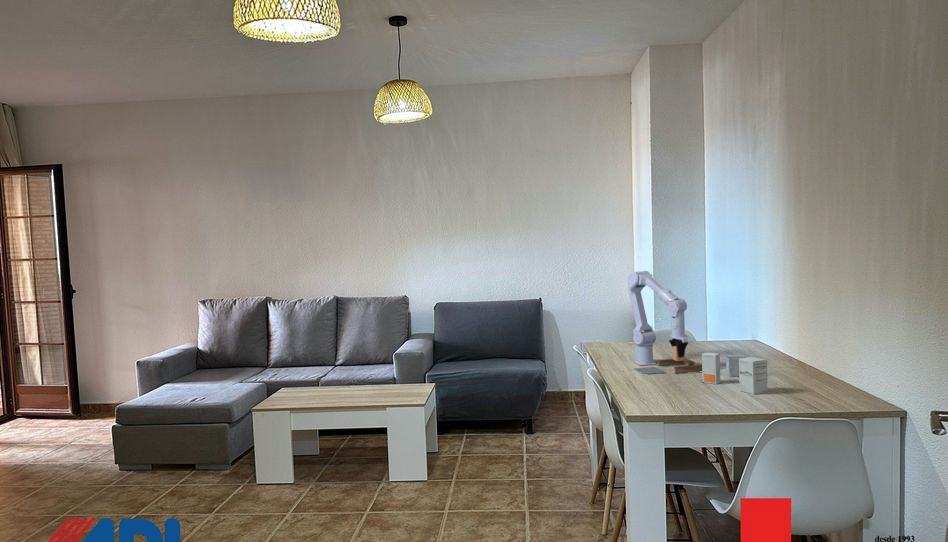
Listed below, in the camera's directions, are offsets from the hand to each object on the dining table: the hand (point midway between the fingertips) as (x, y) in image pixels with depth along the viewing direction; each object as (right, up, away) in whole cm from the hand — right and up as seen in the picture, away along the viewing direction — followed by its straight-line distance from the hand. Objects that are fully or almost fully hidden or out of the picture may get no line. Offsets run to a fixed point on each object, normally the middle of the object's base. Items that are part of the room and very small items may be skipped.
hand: (678, 356), depth 315 cm
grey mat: (-14, -7, -2) cm, 15 cm away
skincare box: (+4, -7, -30) cm, 32 cm away
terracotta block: (0, -2, 0) cm, 2 cm away
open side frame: (0, -6, 0) cm, 6 cm away
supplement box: (+14, -8, -49) cm, 52 cm away
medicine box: (+19, -6, -19) cm, 28 cm away
